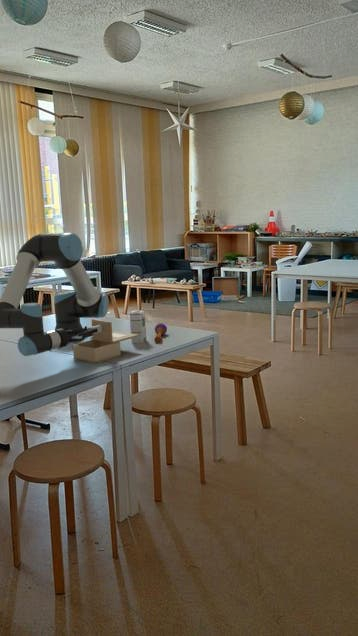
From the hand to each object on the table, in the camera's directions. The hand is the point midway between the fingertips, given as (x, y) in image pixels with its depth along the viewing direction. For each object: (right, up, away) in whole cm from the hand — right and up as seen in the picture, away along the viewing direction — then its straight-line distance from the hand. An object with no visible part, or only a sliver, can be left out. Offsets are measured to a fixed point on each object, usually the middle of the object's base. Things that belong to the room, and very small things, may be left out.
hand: (100, 328), depth 242 cm
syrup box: (+14, -7, +25) cm, 30 cm away
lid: (+5, -4, +6) cm, 9 cm away
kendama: (+24, -6, +31) cm, 40 cm away
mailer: (-1, -12, 0) cm, 12 cm away
